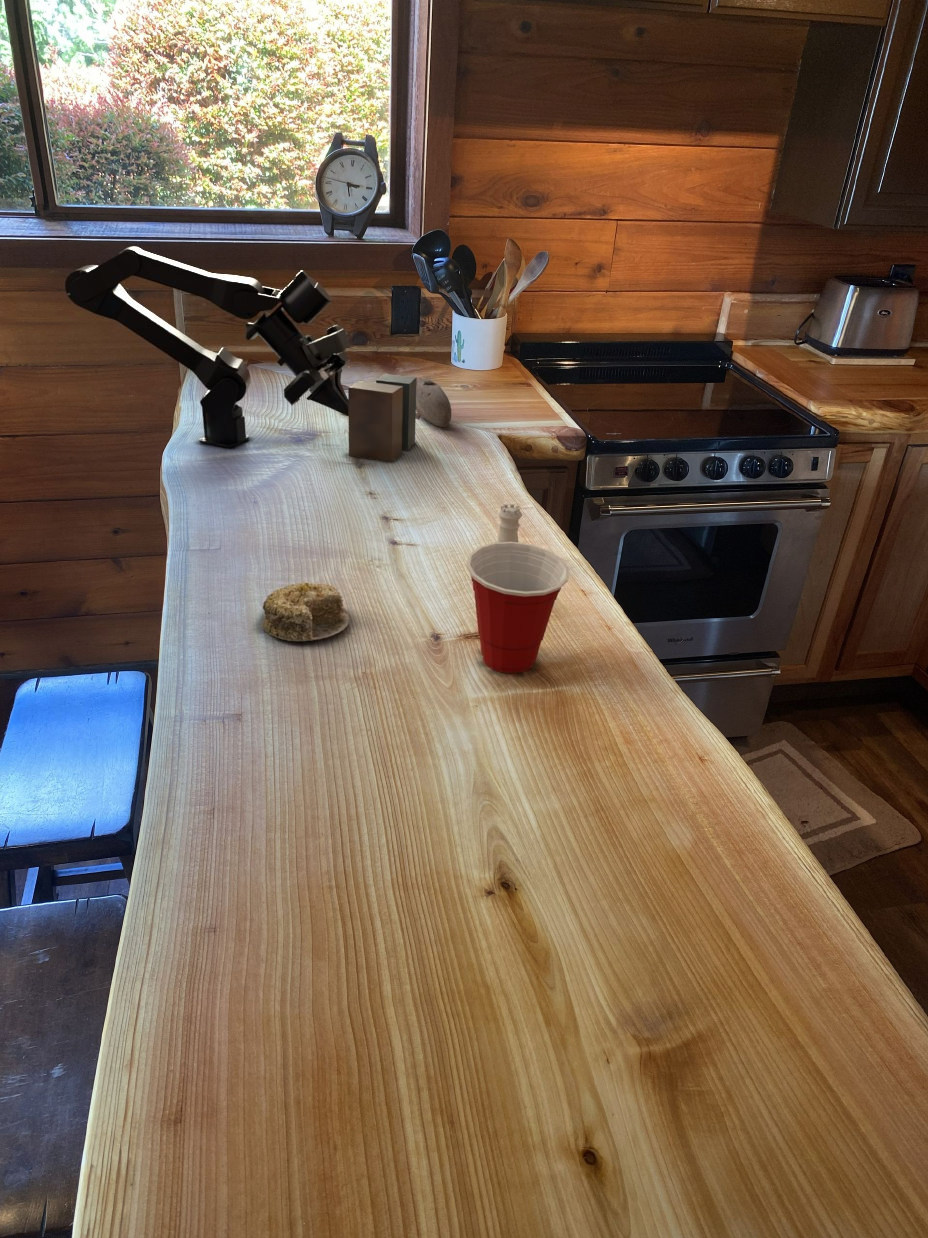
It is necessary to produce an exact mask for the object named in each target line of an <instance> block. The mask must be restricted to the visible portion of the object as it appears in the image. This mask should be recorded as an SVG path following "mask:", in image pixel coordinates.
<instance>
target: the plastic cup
mask: <svg viewBox="0 0 928 1238" xmlns="http://www.w3.org/2000/svg"><path fill="white" fill-rule="evenodd" d="M466 568H467V571H468V572H469V574H470V578H471V579H470V580H471V582H472V590H473V595H474V602H475V613H476V621H477V623H476V624H477V630H478V635H479V642H480V652H481V656H482V660H483V662H484V664H485V666H487V667H488V668H490V669H491V670H493V671H496V672H500V673H504V674H518V673H523V672H526V671H529V670H530V669H531V668H532V667H533V666H534V664H535V662H536V661H537V658H538V654H539V651H540V647H541V644H542V641H543V640H544V637H545V633H546V631H547V628H548V624H549V621H550V618H551V614H552V612H553V611H552V610H553V608H554V605H555V602H556V600H557V598H558V595H559V593H560V592H561V589H562V587H564V585H566V583H568V581H569V579H570V568H569V566H568V565H567V563H566V562H565V561H564V559H563V558H562V557H561V556H559V555H558V554H555V553H554V552H553V551H551V550H549V549H546V548H543V547H540V546H537V545H535V544H531V543H525V542H519V541H518V542H497V541H496V542H492V543H488V544H484V545H482V546H478V547H477V548H476V549H474V550H472V551H471V552H470V553H469V554H468V556H467V561H466Z"/></svg>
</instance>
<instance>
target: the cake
mask: <svg viewBox="0 0 928 1238" xmlns="http://www.w3.org/2000/svg"><path fill="white" fill-rule="evenodd" d="M343 602H344V599H343V596H342V595H341V594H340V591H339V590H338V589H337V588H336V587H335V586H332V585H331V584H329V583H325V584H322V583H320V582H315V583H313V582H306V581H305V582H299V583H292V584H288V585H285V586H284V587H279V588H278V589H274V590H273V591H272V592H271V593H270V594H269V595H267V597H266V598H265V600H264V601H263V603H262V605H261V606H262V609H263V611H264V615H265V616H264V618H263V620H262V623H261V627H262V628H263V629H262V630H263V631H265V633H267V634H268V635H269V636H271V637H274V638H276V639H280V640H284V641H285V640H286V641H288V642H311V641H319V640H323V639H327V638H330V637H333V636H335V635H337V634H339V633H340V632H343V631H344V630H345V629H346V628H347V627H348V625H349V622H350V619H349V616H348V614H347V613H346V612H345V610H346V608H345V607H344V603H343Z"/></svg>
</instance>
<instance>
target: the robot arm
mask: <svg viewBox="0 0 928 1238" xmlns="http://www.w3.org/2000/svg"><path fill="white" fill-rule="evenodd" d="M133 276H134V277H137V278H141V279H144V280H147V281H149V282H153V283H156V284H159V285H162V286H165V287H169V288H172V289H175V290H177V291H180V292H184V293H187V294H191V295H193V296H196V297H200V298H203V299H205V300H207V301H209V302H210V303H212V304H214V305H215V306H216V307H218V308H219V309H221V310H223V311H224V312H227V313H228V314H230V315H232V316H234V317H236V318H238V319H241V320H251V319H253V318H255V317H256V316H257V317H258V315H259V314H260V312H263V313H262V314H261V315H260V316H259V318H257V319H256V320H255V321H254V322H246V323H245V329H246V330H245V331H246V332H245V339H246V341H252V340H255V339H257V337H258V336H259V337H260V338H261V339H262V340H263V341H264V342H265V344H266V345H267V346H268V347H269V348H270V349H271V350H272V351H273V352H274V354H275V355H276V356H277V357H278V358H279V359H278V360H277V362H276V363H277V364H278V365H279V366H280V367H283V366H284V365H285V366H286V367H287V369H288V370H289V371H290V372H291V373H292V374H293V375H294V376H295V377H294V378H293V380H292V381H290V382H289V384H287V386H285V388H283V398H284V399H285V400H286V401H287V402H288V403H289V404H290V406H294V405H295V404H297V403H298V402H299V401H300V400H301V397H303V396H304V395H305V394H306V393H307V392H308V391H309V393H310V394H309V395H308V396H307V397H306V400H307V401H312V402H315V403H317V404H319V405H322V406H324V407H326V408H329V409H331V410H333V411H336V412H338V413H340V414H342V415H344V416H346V417H348V395H347V393H346V392H345V389H344V387H343V384H342V373H343V367H344V366H345V365H346V364H347V363H349V362H350V361H351V357H350V356H349V355H348V354H347V353H346V352H345V351H346V350H347V349H350V348H351V347H352V346H351V343H350V341H349V339H348V338H349V337H350V333H348V332H347V331H346V329H345V328H342V327H341V326H340V325H338V324H335V325H332V326H330V327H328V328H327V330H326V335H324V336H322V337H320V338H317V339H316V338H315V337H314V336H313V335H312V334H307V335H305V334H304V332H302V331H301V330H300V328H299V327H298V326H297V325H302V324H303V323H304V324H306V325H310V324H311V323H312V322H313V320H315V319H316V318H317V316H319V315H320V314H321V313H322V312H323V311H324V310H325V309H326V308H327V307H328V306H329V305H331V303H332V302H333V300H332V298H331V296H330V294H329V293H328V292H327V290H326V289H325V288H324V287H323V285H322V284H320V282H319V281H318V282H317V281H316V280H315V279H314V278H313V277H311V276H310V275H309V274H307V273H306V271H305V270H304V269H302V270H300V271H299V272H298V273H297V274H296V275H295V277H294V278H293V280H291V282H290V283H288V285H286V286H285V287H284V289H278V288H272V287H268V286H263V285H262V283H261V281H258V280H257V279H256V278H253V277H248V276H240V275H236V274H234V275H233V274H221V273H212V272H209V271H206V270H204V269H200V268H198V267H194V266H191V265H188V264H185V263H182V262H180V261H176V260H173V259H170V258H166V257H164V256H161V255H157V254H155V253H151V252H149V251H146V250H143V249H142V248H140V247H139V246H128V247H126V248H125V249H122V250H121V251H119V253H118V254H117V255H116V256H113V257H112V258H110V259H108V260H106V261H104V262H102V263H101V264H99V265H97V264H87V265H84V266H82V267H80V268H77V269H75V270H74V271H72V272H69V274H68V275H67V277H66V279H65V281H64V290H65V292H66V296H67V298H68V299H69V301H70V302H71V303H73V304H74V305H76V306H77V307H79V308H82V309H84V310H85V311H88V312H90V313H92V314H94V315H97V316H101V317H104V318H106V319H110V320H113V321H116V322H118V323H119V324H121V325H122V326H123V327H125V328H126V329H128V330H130V331H131V332H132V333H134V334H136V336H139V337H140V338H142V339H143V340H144V341H146V342H148V343H149V344H151V345H152V346H154V347H155V348H156V349H158V350H160V351H161V352H162V353H164V354H165V355H167V356H169V357H170V358H172V359H173V360H175V361H176V362H177V363H179V364H180V365H182V366H184V367H185V368H187V369H188V370H190V371H191V372H192V373H193V374H194V375H195V376H196V377H197V379H198V380H199V382H201V384H202V385H203V386H204V388H206V389H207V390H206V392H205V393H204V394H203V396H202V397H201V399H200V400H199V404H200V406H201V412H202V423H203V435H204V436H203V437H201V438H199V439H198V441H199V443H201V444H205V445H206V444H207V445H211V446H218V447H221V448H228V449H229V448H230V449H231V448H232V447H234V446H237V445H239V444H241V443H243V442H245V441H247V440H250V435H247V433H246V431H247V430H246V417H245V416H244V414H243V413H244V412H243V406H240V405H238V404H237V403H238V402H240V401H241V400H242V399H243V398H244V397H245V395H246V393H247V392H248V390H249V388H250V385H251V383H252V382H251V380H252V378H251V374H250V370H249V369H248V367H247V366H246V365H245V364H243V363H244V359H242V358H238V357H237V356H235V355H233V354H232V353H231V352H230V351H229V350H228V349H226V348H225V347H221V349H220V350H219V351H218V352H214V351H212V350H209V349H206V348H204V347H203V346H201V344H199V343H197V342H196V341H194V339H192V338H190V337H189V336H187V335H186V334H184V333H183V332H181V331H179V330H178V329H177V328H175V327H174V326H172V325H171V324H169V323H168V322H166V321H165V320H164V319H162V318H160V317H159V316H157V315H156V314H155V313H154V312H152V311H150V310H149V309H147V308H146V307H144V306H143V305H141V304H140V303H138V302H137V301H136V300H135V299H133V298H132V297H131V296H130V295H129V294H128V293H127V291H126V289H124V287H123V286H122V285H121V284H120V283H122V282H123V281H125V280H127V279H129V278H130V277H133ZM279 304H280V305H279ZM277 305H279V306H278V307H277ZM275 308H276V309H275ZM273 309H275V310H274V311H272V310H273ZM267 311H272V312H271V313H269V312H267ZM285 312H286V313H285ZM293 321H294V322H295V323H296V324H297V325H296V324H295V323H294V322H293Z"/></svg>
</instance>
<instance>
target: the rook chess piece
mask: <svg viewBox="0 0 928 1238" xmlns="http://www.w3.org/2000/svg"><path fill="white" fill-rule="evenodd" d="M508 505H509V506H508ZM497 515H498V517H499V518H500V521H499V522H498V526H499V533H498V536H497V540H496V543H497V542H518V543H519V533H518V532H519V528H520V526H521V525H520V523H519V520H520V519H521V518H522V517H523V513H522V511H521V507H520V506H519V505H518V504H517V505H515V504H514V503H510V504H508V503H504V504H501V506H500V510H498V512H497Z"/></svg>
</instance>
